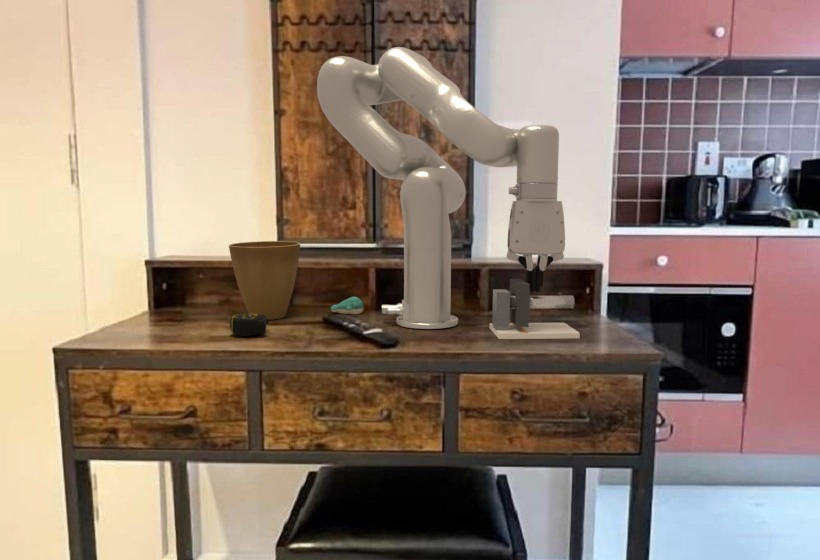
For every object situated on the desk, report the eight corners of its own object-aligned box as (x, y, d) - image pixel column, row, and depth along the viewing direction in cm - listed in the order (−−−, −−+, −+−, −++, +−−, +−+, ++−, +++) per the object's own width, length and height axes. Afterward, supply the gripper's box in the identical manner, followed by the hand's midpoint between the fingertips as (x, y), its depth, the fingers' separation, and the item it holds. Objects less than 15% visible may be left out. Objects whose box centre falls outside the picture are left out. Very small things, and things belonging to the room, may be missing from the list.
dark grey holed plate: (517, 327, 121) (518, 284, 120) (509, 319, 129) (509, 278, 128) (528, 327, 121) (529, 284, 120) (519, 319, 129) (520, 278, 128)
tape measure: (266, 338, 121) (265, 318, 120) (228, 339, 120) (227, 319, 119) (268, 331, 128) (268, 312, 127) (232, 332, 126) (231, 312, 126)
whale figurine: (364, 315, 144) (364, 298, 144) (330, 316, 143) (330, 299, 143) (362, 311, 150) (362, 294, 150) (330, 311, 149) (330, 295, 149)
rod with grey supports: (496, 330, 123) (496, 292, 122) (492, 326, 127) (493, 289, 126) (574, 329, 124) (576, 292, 123) (568, 325, 128) (569, 289, 127)
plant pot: (245, 310, 149) (243, 240, 147) (309, 311, 148) (307, 241, 146) (220, 323, 134) (217, 245, 132) (291, 324, 133) (289, 246, 131)
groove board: (499, 339, 120) (499, 333, 120) (489, 328, 130) (489, 322, 130) (579, 338, 121) (579, 332, 121) (563, 327, 131) (564, 322, 130)
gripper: (500, 193, 118) (498, 294, 120) (582, 193, 119) (578, 293, 121) (493, 193, 125) (491, 288, 128) (570, 193, 126) (567, 288, 128)
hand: (534, 290), depth 124 cm, fingers closed
